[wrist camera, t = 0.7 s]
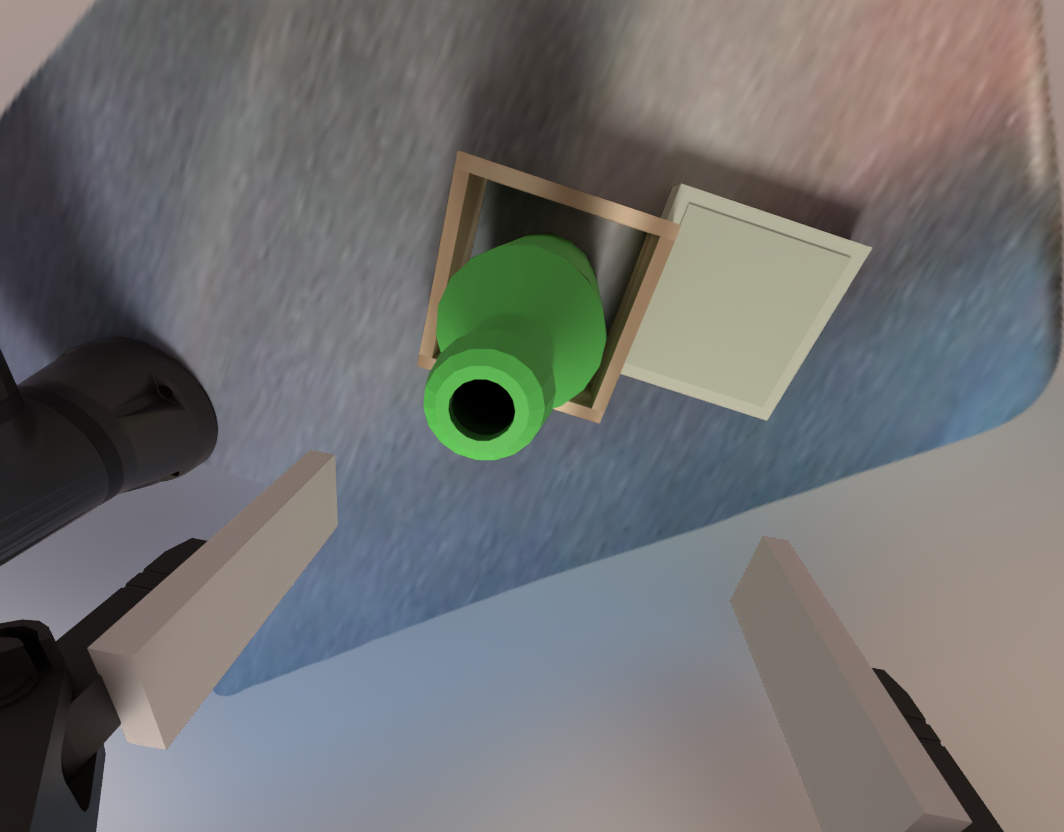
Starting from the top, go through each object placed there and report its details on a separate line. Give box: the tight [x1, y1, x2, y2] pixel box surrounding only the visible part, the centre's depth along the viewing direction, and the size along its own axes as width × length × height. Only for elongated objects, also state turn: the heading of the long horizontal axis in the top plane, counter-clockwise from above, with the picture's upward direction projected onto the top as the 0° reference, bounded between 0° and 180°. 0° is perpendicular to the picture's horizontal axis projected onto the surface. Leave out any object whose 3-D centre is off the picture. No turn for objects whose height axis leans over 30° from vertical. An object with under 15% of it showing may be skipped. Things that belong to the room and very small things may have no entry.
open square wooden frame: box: [417, 151, 682, 423], centre depth 33 cm, size 15×15×6 cm
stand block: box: [620, 183, 872, 420], centre depth 34 cm, size 14×14×3 cm
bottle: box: [423, 234, 607, 460], centre depth 25 cm, size 9×9×25 cm
